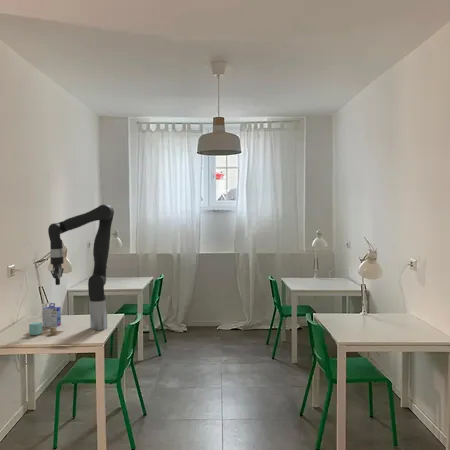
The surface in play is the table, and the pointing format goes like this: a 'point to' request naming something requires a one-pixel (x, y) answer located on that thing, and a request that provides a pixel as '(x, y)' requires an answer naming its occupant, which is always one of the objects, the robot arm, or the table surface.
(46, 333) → the board
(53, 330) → the tan block
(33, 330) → the aqua matte cube
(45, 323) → the ink cartridge box
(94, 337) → the table surface
